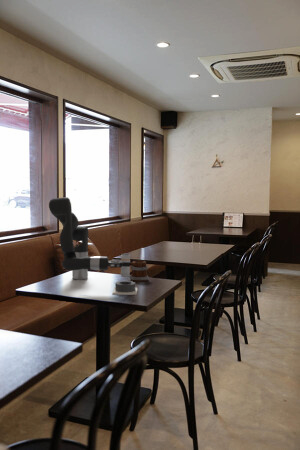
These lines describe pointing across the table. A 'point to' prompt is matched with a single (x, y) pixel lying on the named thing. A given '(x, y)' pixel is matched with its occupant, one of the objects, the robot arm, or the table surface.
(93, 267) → the robot arm
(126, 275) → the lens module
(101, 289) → the table surface
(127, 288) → the grey ring on base
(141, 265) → the mug
